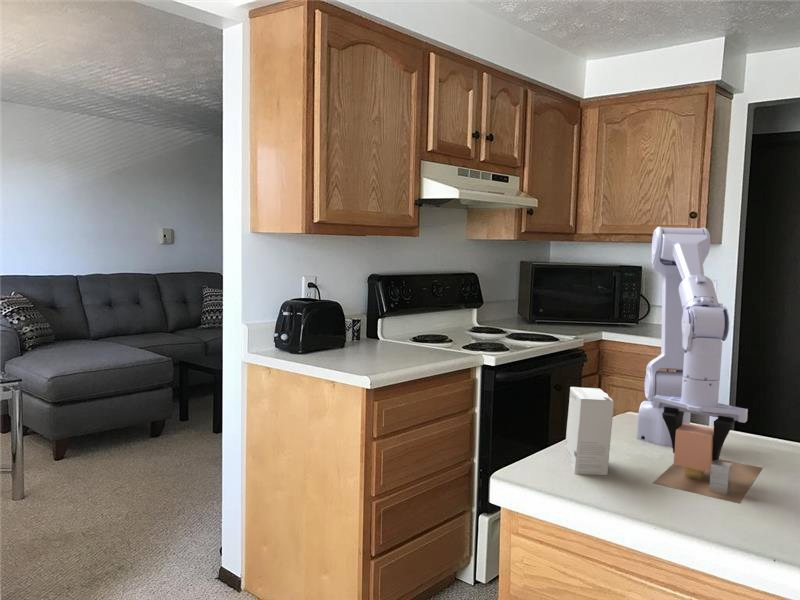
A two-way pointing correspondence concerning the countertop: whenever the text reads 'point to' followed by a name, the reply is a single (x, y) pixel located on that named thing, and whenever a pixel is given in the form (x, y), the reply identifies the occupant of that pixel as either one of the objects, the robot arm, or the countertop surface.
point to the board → (739, 481)
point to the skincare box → (588, 431)
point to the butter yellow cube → (694, 473)
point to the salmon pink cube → (694, 447)
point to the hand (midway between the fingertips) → (695, 455)
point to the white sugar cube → (720, 477)
